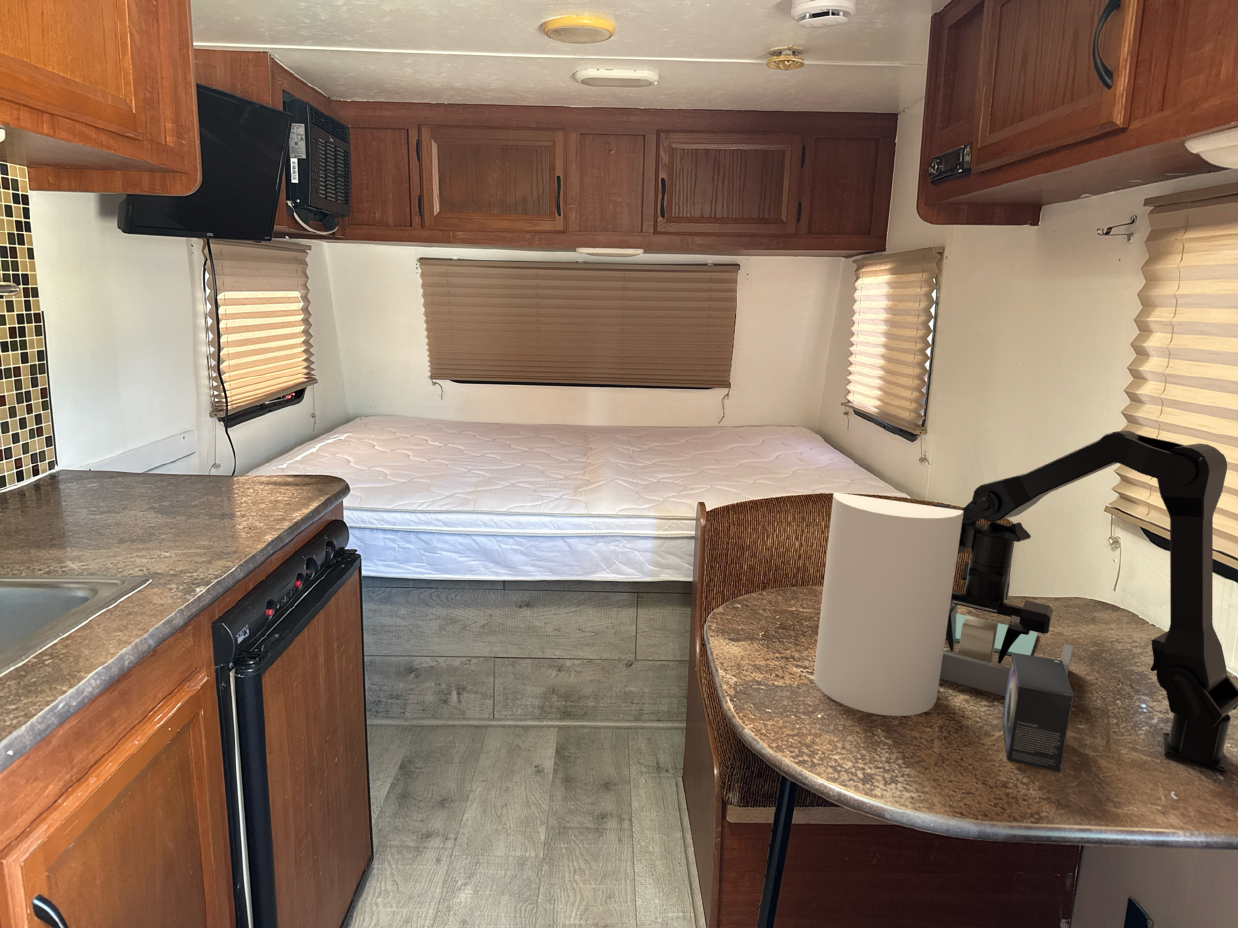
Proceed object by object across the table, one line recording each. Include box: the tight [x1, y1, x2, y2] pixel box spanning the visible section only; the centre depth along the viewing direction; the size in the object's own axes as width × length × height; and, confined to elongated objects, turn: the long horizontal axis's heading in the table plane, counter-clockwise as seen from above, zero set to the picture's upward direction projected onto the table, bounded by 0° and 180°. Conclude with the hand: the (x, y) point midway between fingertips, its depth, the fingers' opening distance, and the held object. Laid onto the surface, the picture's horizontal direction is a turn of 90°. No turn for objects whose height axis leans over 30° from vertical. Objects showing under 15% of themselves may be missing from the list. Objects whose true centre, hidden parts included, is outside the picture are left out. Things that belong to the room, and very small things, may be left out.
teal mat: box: [945, 613, 1039, 657], centre depth 138 cm, size 12×14×1 cm
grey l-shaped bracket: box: [940, 643, 1074, 697], centre depth 126 cm, size 16×25×4 cm, turn 57°
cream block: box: [957, 615, 999, 663], centre depth 126 cm, size 4×4×7 cm
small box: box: [1001, 653, 1075, 773], centre depth 103 cm, size 11×6×10 cm, turn 159°
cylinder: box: [813, 491, 964, 717], centre depth 115 cm, size 17×17×28 cm
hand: (975, 656), depth 126 cm, fingers open, 7 cm apart
